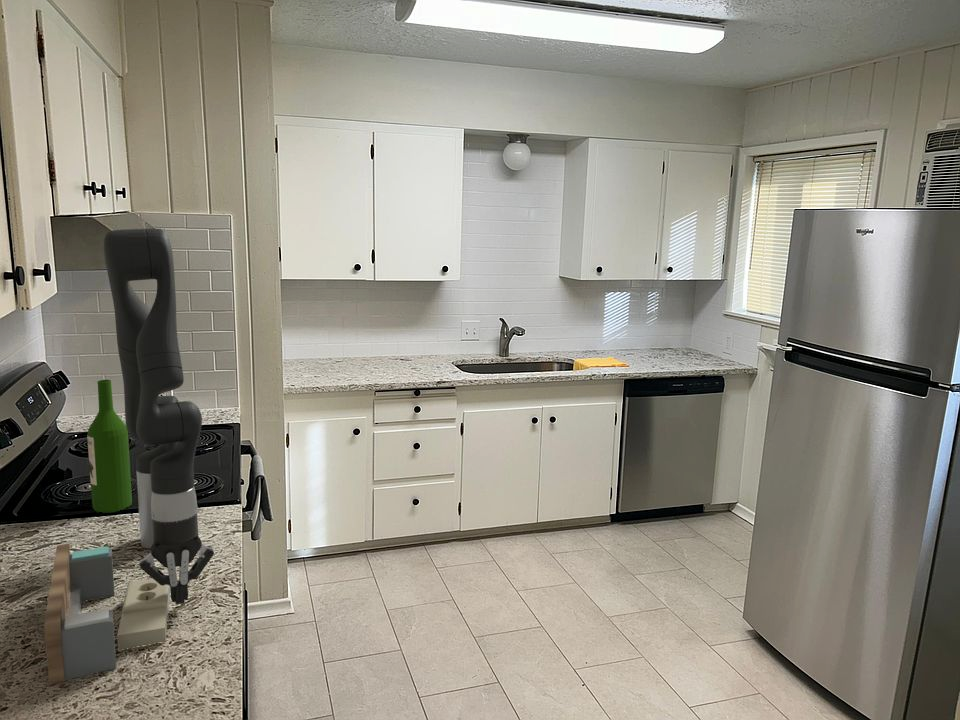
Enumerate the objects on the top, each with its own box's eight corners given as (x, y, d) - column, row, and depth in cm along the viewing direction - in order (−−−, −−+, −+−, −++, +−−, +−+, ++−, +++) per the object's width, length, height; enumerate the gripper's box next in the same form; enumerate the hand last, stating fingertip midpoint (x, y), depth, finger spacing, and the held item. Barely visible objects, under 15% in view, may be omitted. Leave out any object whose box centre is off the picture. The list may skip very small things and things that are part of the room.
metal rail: (72, 603, 131) (70, 585, 131) (81, 601, 132) (80, 584, 131) (66, 666, 112) (64, 645, 111) (76, 663, 113) (75, 643, 112)
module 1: (73, 594, 135) (69, 551, 133) (114, 586, 138) (111, 544, 137) (72, 603, 131) (68, 560, 130) (114, 595, 134) (111, 553, 133)
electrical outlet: (116, 630, 116) (128, 581, 133) (118, 652, 117) (129, 601, 133) (164, 622, 119) (169, 575, 135) (165, 645, 119) (170, 595, 136)
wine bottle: (87, 506, 179) (78, 380, 174) (125, 497, 185) (117, 376, 180) (99, 516, 173) (90, 385, 168) (137, 507, 179) (129, 381, 174)
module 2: (66, 666, 112) (61, 615, 111) (115, 655, 115) (112, 606, 114) (64, 680, 108) (60, 628, 107) (115, 668, 112) (112, 617, 110)
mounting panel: (61, 595, 134) (56, 545, 133) (73, 592, 135) (69, 543, 134) (49, 685, 107) (44, 624, 106) (64, 681, 108) (59, 621, 106)
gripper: (210, 499, 133) (214, 585, 136) (132, 511, 127) (138, 601, 129) (216, 513, 126) (220, 603, 129) (134, 525, 120) (140, 620, 123)
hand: (179, 602), depth 129 cm, fingers closed
